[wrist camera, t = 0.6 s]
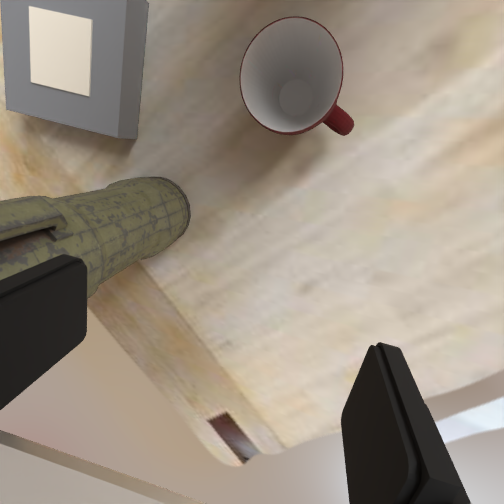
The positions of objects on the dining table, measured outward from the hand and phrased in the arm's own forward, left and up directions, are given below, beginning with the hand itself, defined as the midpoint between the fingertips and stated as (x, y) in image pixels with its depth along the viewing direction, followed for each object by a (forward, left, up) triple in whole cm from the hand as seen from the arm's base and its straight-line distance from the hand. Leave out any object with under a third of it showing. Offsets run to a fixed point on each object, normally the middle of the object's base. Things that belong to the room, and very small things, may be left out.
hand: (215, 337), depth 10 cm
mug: (-10, -1, -29) cm, 31 cm away
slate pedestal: (-9, -27, -29) cm, 40 cm away
